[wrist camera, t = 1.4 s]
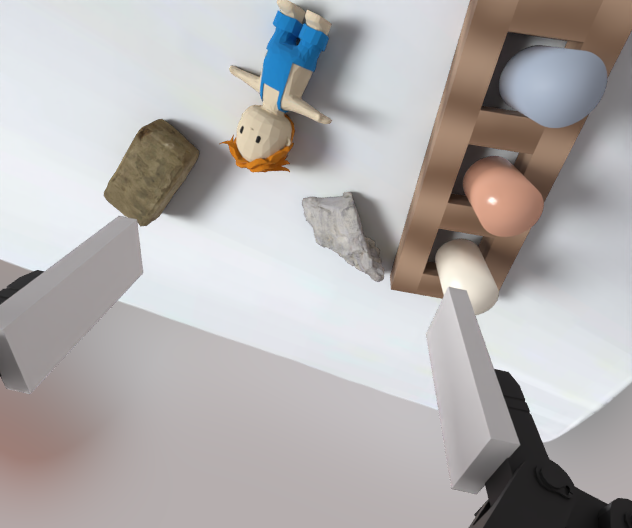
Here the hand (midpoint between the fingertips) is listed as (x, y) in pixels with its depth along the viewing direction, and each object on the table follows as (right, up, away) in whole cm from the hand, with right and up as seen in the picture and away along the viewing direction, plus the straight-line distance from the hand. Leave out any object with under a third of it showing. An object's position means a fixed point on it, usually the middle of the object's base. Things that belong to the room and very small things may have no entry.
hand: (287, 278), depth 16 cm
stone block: (-17, +12, +28) cm, 35 cm away
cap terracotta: (+18, +9, +20) cm, 28 cm away
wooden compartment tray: (+18, +10, +23) cm, 31 cm away
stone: (+5, +5, +29) cm, 30 cm away
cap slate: (+19, +16, +15) cm, 29 cm away
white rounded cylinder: (+17, +1, +25) cm, 30 cm away
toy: (-2, +18, +22) cm, 28 cm away
